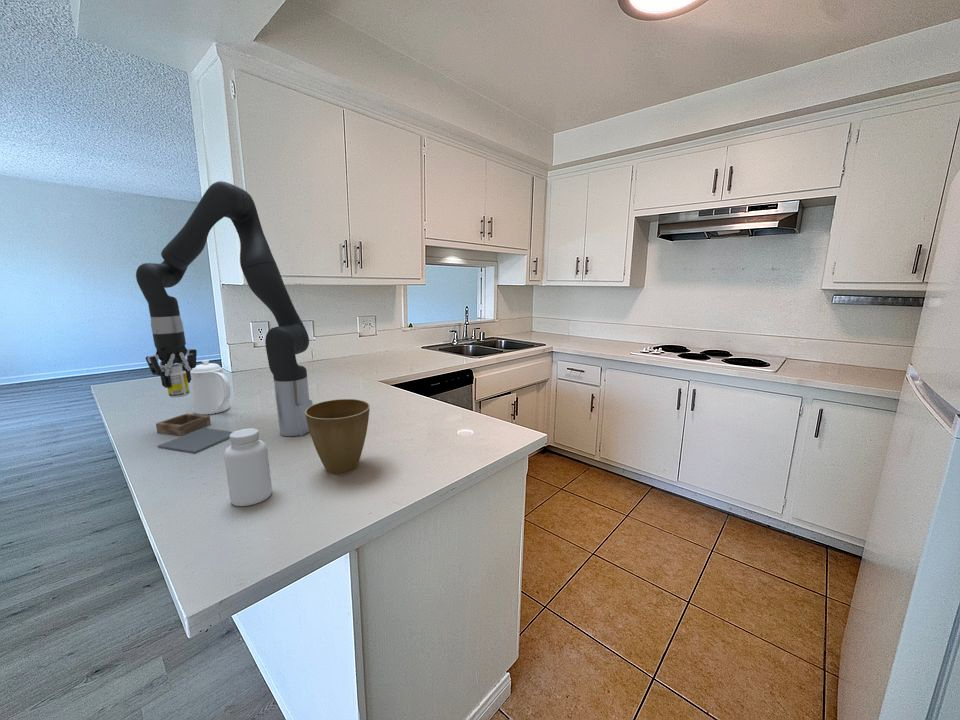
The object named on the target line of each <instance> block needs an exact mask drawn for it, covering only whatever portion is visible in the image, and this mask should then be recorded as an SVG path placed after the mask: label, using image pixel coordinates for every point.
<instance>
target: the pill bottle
mask: <svg viewBox="0 0 960 720" xmlns="http://www.w3.org/2000/svg"><path fill="white" fill-rule="evenodd" d="M232 432H233V433H231V434H230V436H229V437H230V439H229V446H227V447H226V449H225V450H224V452H223V459H224V467H225V471H226V479H227V486H228V494H229V499H230V503H232V505H233V506H236V507H247V506H253V505H256V504H258V503H261V502H263V501H265V500H267V499H268V498H269V497H270V496H271V495H272V492H273V486H272V485H273V484H272V477H271V476H272V475H271V468H270V460H269V459H270V458H269V452H268V446H267V443H265V441H263V440H261V439H260V433H259V429H257V428H251V427H250V428H243V429H238V430H235V431H232Z"/></svg>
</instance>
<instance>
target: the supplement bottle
mask: <svg viewBox="0 0 960 720" xmlns="http://www.w3.org/2000/svg"><path fill="white" fill-rule="evenodd" d="M168 376H170V380H171V385H172V387H171V388H167V392H168V396H169V397H170V398H174V399H175V398H182V397H186V396H189V395H190V392H191V391H190V385H189V383H188V380H187V375H186V371H184V370H182V365H177V364H173V365H172V368H171V369H170V372H169V375H168Z"/></svg>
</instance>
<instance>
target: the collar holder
mask: <svg viewBox="0 0 960 720" xmlns="http://www.w3.org/2000/svg"><path fill="white" fill-rule="evenodd" d="M210 425H212V423H211V416H210V415H199V414H196V413H190V412H189V413H188V412H187V413H184V414H180V415H178V416H175V417H172V418H168V419H166V420H163V421H159V422H156V423H155V426H156V427H155V428H156V432H157V433H158V434H164V435H169V436H170V435H171V436H178V437H182V436H184V435H187V434H190V433H192V432H195V431H197V430H200V429H203V428H206V427H208V426H210Z"/></svg>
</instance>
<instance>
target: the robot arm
mask: <svg viewBox="0 0 960 720" xmlns="http://www.w3.org/2000/svg"><path fill="white" fill-rule="evenodd" d="M223 218H227V219H230V220H231V223H233V226H234V228H235V230H236V232H237V235H238V238H239V242H240V252H239V263H240V268H241V270H242V271H241V272H242V273H243V276H244V278H245V281H246V283H247V285H248V287H249V289H250V290H251V292H253V294H254V295H255V296H256V297H257V298H258V299H259V300H260V301H261V302H262V303H263V304H264V305H265V306H266V307H267V308H268V309H269V311H270V313H272V315H273V317H274V319H275V320H276V323H277V325H278V326H275V327H272V328H270V329H269V330H268V331H267V333H266V335H265V341H264V343H265V351H266V356H267V360H268V361H267V363H268V367H269V370H270V372H271V373H272V376H273V377H272V378H273V384H274V393H275V403H276V409H277V410H276V411H277V421H278V428H279V434H280V436H284V437H296V436H298V437H299V436H301V437H302V436H304V435H306V434H308V433H310V431H309V428H308V424H307V420H306V416H305V410H306V409H307V408H308V407H310V406H312V405H314V403H313V399H312V400H311V399H310V393H309V391H310V390H309V382H308V371H307V368H306V367H305V366H303V365H299V364H298V360H297V356H296V355H299V354H301V353H302V354H303V353H304V352H306V351H307V350H308V348H309V345H310V337H309V334H308V332H307V329H306V327H305V325H304V323H303V321H302V320H301V317H300V316H299V313H298V312H297V309H296V308H295V306H294V304H293V301H292V299H291V297H290V295H289V292H288V290H287V287H286V286H285V283H284V280H283V278H282V275H281V272H280V270H279V267H278V265H277V262H276V260H275V258H274V256H273V253H272V251H271V248H270V245H269V243H268V240H267V238H266V236H265V234H264V231H263V228H262V224H261V221H260V218H259V214H258V210H257V206H256V204H255V201H254V199H253V196H251V194H250V193H248V191H247V190H245V189H244V188H241V187H239V186H238V185H235V184H232V183H229V182H226V181H222V180H220V181H216V182H214V183H212V184H211V185H210V186H209V187H208V188H207V189H206V190H205V192H204V194H203V196H202V197H201V199H200V200H199V202H198V204H197V206H195V208H194V210H193V211H192V213H191V215H190V216H189V218H188V219H187V221H186V222H185V224H184V225H183V226H182V228H181V229H180V230H179V231H178V232H177V234H176V235H175V236H174V237H173V238H172V239H171V240H170V241H169V242H168V243H167V244H166V245H165V247H164V248H163V249H162V251H161V253H160V254H161V255H160V256H161V257H162V260H163V261H162V262H161V263H152V262H145V263H142V264H140V265H139V266H138V267H137V269H136V271H135V279H136V282H137V285H138V287H139V289H140V290H141V293H142V294H143V298H144V299H145V301H146V302H147V304H148V312H149V316H150V328H151V332H152V333H151V334H152V337H153V339H152V340H153V345H154V347H155V349H156V352H155V354H153V355H151V356H149V355H148V356H146V357H145V360H146V363H147V365H148V367H149V370H150V372H151V374H152V375H153V376H159V377H160V380H161V385H162V387H164V389H165V388H166V389H168V388H171V387H172V385H171V380H170V376H168V375H169V372H170V369H171V368H172V365H182V370H184V371H186V375H187V380H188V384H189V383H191V382H192V374H191V371H192V368H195V367H196V365H197V355H198V354H197V352H198V351H197V349H194V348H191V349H190V348H186V344H187V342H186V337H185V330H184V323H183V321H182V318H181V312H180V307H179V302H178V300H177V298H176V297H174V296H172V295H169V294H168V292H167V291H166V288H167V289H168V288H172V287H175V286H176V285H177V284H179V283H180V282H181V280H182V279H183V278H184V276H185V273H186V271H187V269H188V268H189V265H191V264H192V263H193V262H194V261H195V259H197V258H198V256H199V255H201V253H202V252H203V250H204V249H205V247H206V245H207V244H206V243H207V240H208V236H209V233H210V231H211V230H212V228H213V227H214V226H215V225H216V224H217V223H218V222H220V221H221V220H222V219H223ZM159 361H160V363H159Z"/></svg>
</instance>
